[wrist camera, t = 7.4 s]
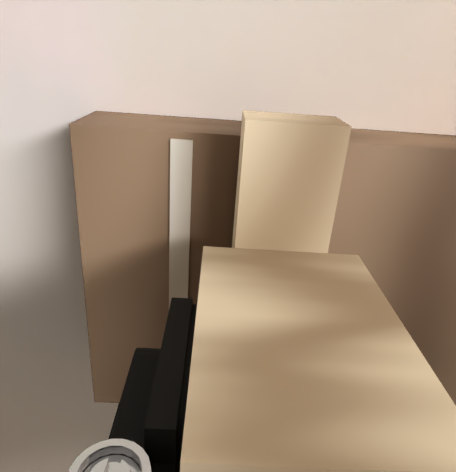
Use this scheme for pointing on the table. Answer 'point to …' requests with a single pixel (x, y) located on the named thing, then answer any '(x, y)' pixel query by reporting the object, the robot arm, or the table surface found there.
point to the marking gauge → (303, 330)
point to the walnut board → (222, 220)
